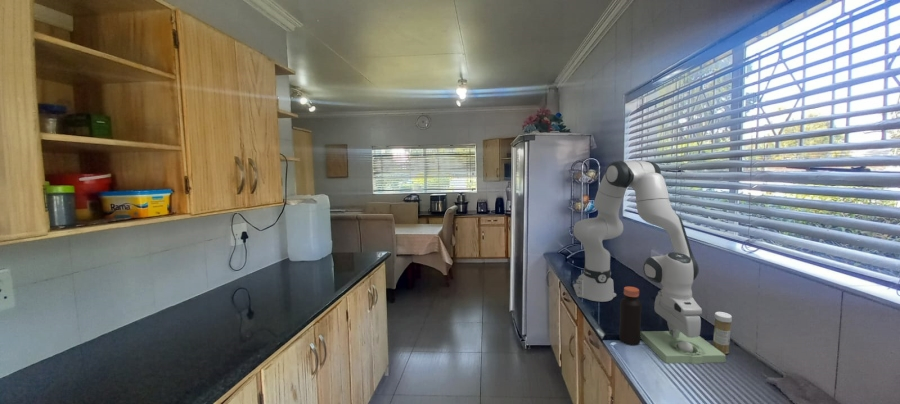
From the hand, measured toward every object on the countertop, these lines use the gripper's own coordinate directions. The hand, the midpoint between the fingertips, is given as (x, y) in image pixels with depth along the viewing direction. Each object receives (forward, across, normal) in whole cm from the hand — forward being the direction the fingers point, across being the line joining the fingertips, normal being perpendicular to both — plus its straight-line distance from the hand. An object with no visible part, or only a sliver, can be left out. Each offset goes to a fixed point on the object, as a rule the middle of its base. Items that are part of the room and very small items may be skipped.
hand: (673, 335), depth 122 cm
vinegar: (+4, -3, -14) cm, 15 cm away
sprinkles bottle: (+3, +5, +13) cm, 14 cm away
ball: (+1, +6, 0) cm, 6 cm away
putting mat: (+3, +3, 0) cm, 5 cm away
